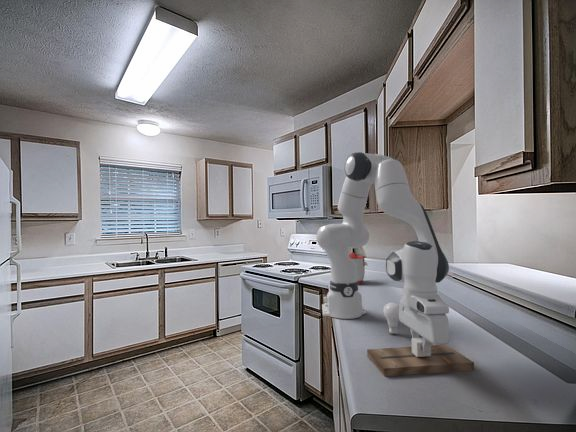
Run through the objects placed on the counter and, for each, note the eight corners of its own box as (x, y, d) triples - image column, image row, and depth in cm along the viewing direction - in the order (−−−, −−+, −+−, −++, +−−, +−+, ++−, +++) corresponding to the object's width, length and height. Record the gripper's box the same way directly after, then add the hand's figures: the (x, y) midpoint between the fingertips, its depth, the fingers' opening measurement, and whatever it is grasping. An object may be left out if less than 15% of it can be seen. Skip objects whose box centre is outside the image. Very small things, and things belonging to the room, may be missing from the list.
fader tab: (417, 357, 85) (417, 342, 85) (411, 352, 88) (411, 338, 88) (430, 356, 86) (430, 341, 86) (424, 351, 89) (424, 337, 89)
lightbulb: (379, 332, 111) (379, 301, 111) (393, 329, 113) (393, 299, 113) (391, 338, 105) (391, 306, 105) (406, 335, 107) (405, 303, 107)
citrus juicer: (367, 286, 189) (366, 253, 189) (339, 284, 194) (338, 253, 195) (368, 281, 204) (368, 251, 204) (342, 280, 209) (342, 250, 210)
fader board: (384, 376, 79) (384, 367, 79) (367, 356, 91) (367, 348, 91) (474, 369, 82) (473, 361, 82) (446, 351, 94) (445, 343, 94)
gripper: (393, 291, 97) (393, 335, 97) (429, 309, 77) (430, 365, 77) (412, 290, 98) (413, 334, 98) (453, 308, 77) (454, 364, 77)
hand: (421, 348), depth 87 cm, fingers closed on fader tab, 3 cm apart
